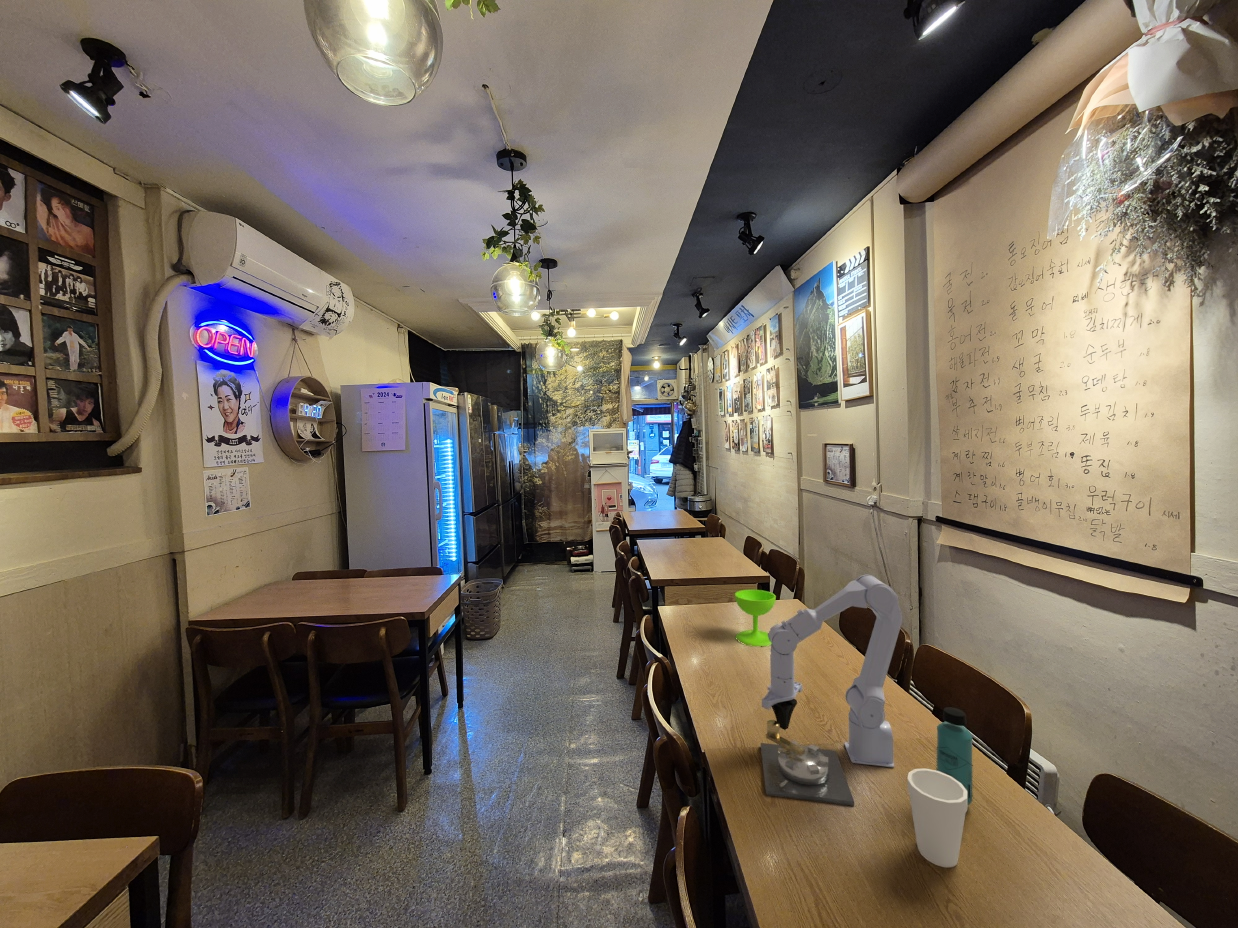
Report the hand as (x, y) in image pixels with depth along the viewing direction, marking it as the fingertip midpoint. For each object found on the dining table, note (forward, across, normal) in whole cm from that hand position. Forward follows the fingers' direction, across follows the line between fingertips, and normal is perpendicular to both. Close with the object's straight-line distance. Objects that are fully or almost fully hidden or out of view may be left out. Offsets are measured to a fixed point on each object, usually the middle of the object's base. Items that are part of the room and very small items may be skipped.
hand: (783, 727), depth 122 cm
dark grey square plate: (+6, +4, +8) cm, 11 cm away
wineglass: (+6, -55, -50) cm, 75 cm away
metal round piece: (+5, +4, +6) cm, 9 cm away
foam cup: (+6, +5, +36) cm, 37 cm away
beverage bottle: (+6, -12, +34) cm, 36 cm away
